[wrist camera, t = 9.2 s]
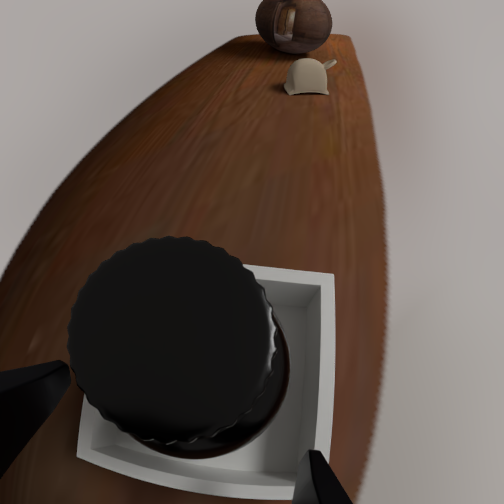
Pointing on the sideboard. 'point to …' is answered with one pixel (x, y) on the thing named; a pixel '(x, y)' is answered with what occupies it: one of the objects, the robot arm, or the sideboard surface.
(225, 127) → the sideboard surface
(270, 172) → the sideboard surface
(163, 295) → the supplement bottle
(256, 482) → the tray
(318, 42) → the dark glossy egg
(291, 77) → the beige rounded piece
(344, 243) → the sideboard surface
